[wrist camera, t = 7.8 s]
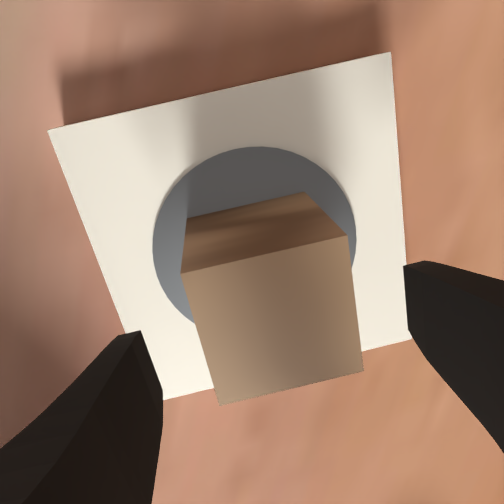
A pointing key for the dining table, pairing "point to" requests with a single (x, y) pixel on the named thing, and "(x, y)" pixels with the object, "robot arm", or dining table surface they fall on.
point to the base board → (240, 193)
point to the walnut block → (271, 296)
